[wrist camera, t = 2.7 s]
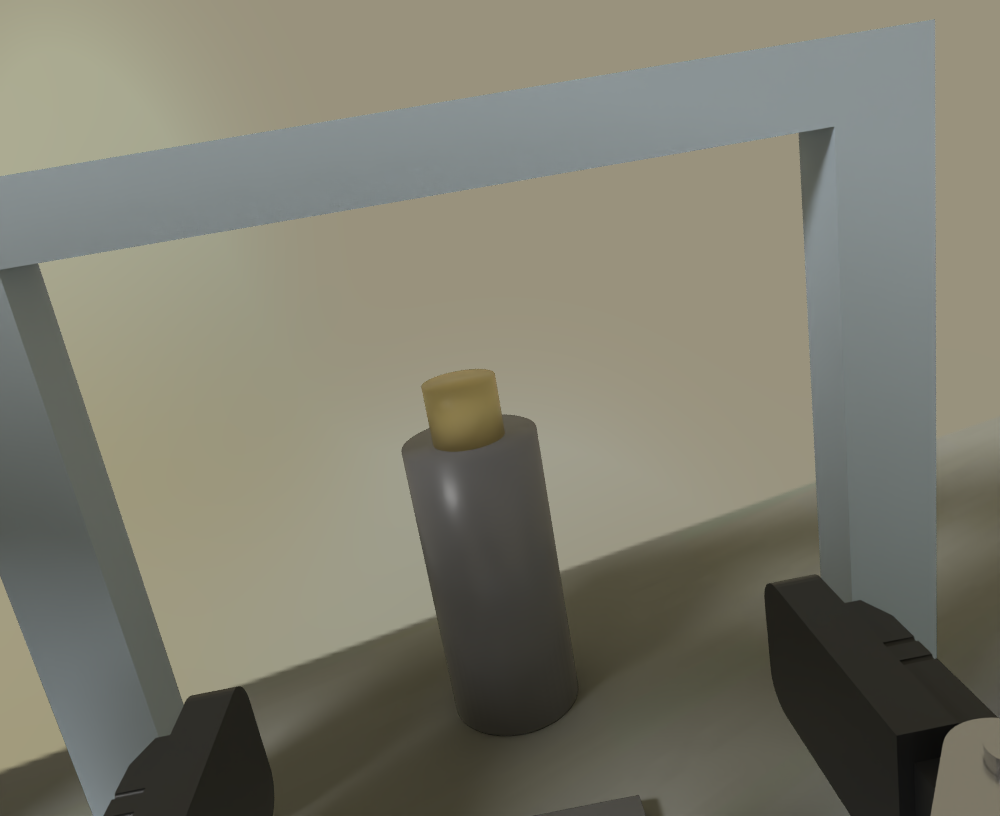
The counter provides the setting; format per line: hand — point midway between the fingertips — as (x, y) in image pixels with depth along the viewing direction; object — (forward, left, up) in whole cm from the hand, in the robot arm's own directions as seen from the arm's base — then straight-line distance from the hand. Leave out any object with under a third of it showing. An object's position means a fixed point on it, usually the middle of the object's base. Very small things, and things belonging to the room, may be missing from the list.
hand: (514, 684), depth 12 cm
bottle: (0, +15, -11) cm, 19 cm away
